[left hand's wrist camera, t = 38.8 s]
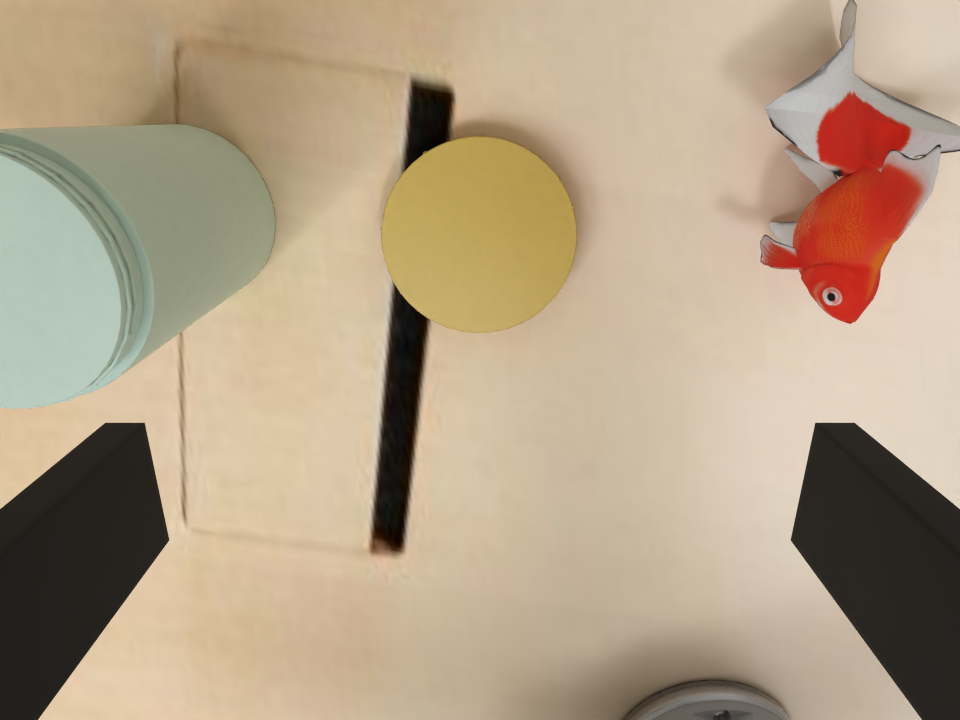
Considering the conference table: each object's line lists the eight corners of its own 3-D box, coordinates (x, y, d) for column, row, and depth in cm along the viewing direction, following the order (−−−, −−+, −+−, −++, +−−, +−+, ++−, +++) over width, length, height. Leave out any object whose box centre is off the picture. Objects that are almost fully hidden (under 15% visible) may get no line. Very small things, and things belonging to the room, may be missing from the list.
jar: (240, 105, 36) (50, 96, 20) (298, 278, 39) (176, 387, 24) (72, 147, 37) (-237, 171, 21) (144, 313, 40) (-73, 441, 24)
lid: (409, 339, 41) (406, 349, 39) (363, 156, 37) (357, 159, 35) (584, 306, 40) (589, 314, 38) (557, 115, 36) (561, 116, 34)
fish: (669, 293, 35) (841, 271, 26) (714, 25, 36) (893, -85, 27) (801, 336, 39) (987, 330, 30) (837, 97, 41) (1026, 23, 32)
